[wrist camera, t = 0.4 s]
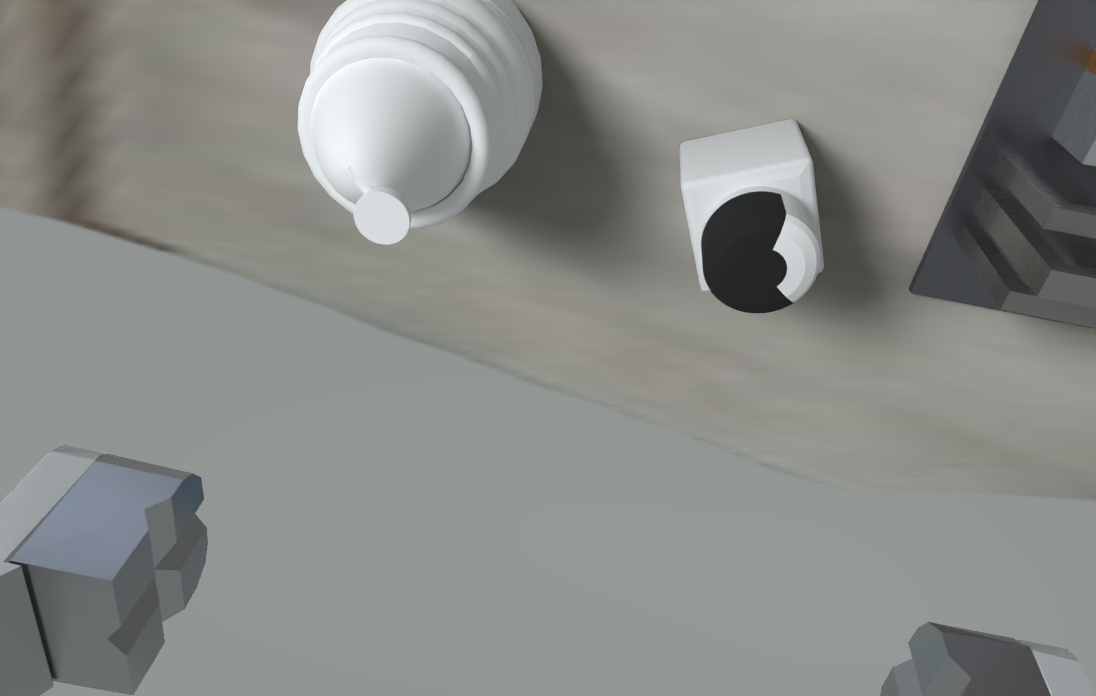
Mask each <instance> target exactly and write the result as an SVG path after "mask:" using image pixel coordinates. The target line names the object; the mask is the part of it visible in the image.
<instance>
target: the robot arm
mask: <svg viewBox="0 0 1096 696" xmlns="http://www.w3.org/2000/svg"><path fill="white" fill-rule="evenodd" d="M203 500H204V495H203V488H202V481H201V477H199V476H197V475H195V474H192V473H189V472H184V471H180V470H175V469H171V468H167V467H162V466H158V465H153V464H149V463H145V462H140V461H136V460H132V459H128V458H123V457H119V456H115V455H110V454H102V453H98V452H94V451H89V450H85V449H81V448H76V447H72V446H67V445H63V446H60V447H59V448H56V449H54V450H52V451H50V452H48V453H47V454H46V455H45V456H44V457H43V459H42V460H41V461H40V462H39V463H38V464H37V465H36V466H35V467H34V468H33V469H32V470H31V471H30V472H29V473H28V475H27V476H25V478H24V479H23V480H22V481H21V482H20V483H19V484H18V485H17V486H16V487H15V488H14V489H13V490H12V491H11V492H10V493H9V495H8V496H7V497H6V498H5V499H4V500H3V501H2V502H1V503H0V696H40V695H41V694H43V693H44V692H46V691H47V690H48V689H50V688H51V687H53V681H56V682H61V683H68V684H73V685H78V686H84V687H90V688H95V689H102V690H107V691H112V692H118V693H124V694H129V695H134V693H135V691H136V690H137V688H138V686H139V685H140V683H141V681H142V680H143V678H144V676H145V675H146V673H147V671H148V670H149V668H150V666H151V665H152V663H153V661H154V660H155V658H156V656H157V655H158V653H159V651H160V650H161V648H162V646H163V645H164V643H165V641H164V633H163V626H162V622H163V621H165V620H166V619H168V618H170V617H172V616H173V615H175V614H177V613H179V612H180V611H182V610H184V609H185V607H186V605H187V604H188V602H189V600H190V598H191V597H192V594H193V593H194V591H195V590H196V588H197V585H198V582H199V579H200V576H201V573H202V571H203V568H204V565H205V561H206V553H207V545H208V541H207V540H208V539H207V528H206V526H205V525H204V524H203V523H202V522H201V520H200V519H199V518H198V517H197V516H196V515H195V513H196V511H197V509H198V508H199V506H200V505H201V503H202V502H203ZM909 646H910V650H911V654H912V657H913V658H912V659H910V660H908V661H906V662H904V663H901V664H899V665H897V666H895V667H893V668H892V670H891V671H890V673H889V675H888V677H887V679H886V680H885V682H884V684H883V686H882V690H881V695H880V696H1095V694H1094V692H1093V690H1092V688H1091V686H1090V684H1089V681H1088V679H1087V677H1086V675H1085V673H1084V671H1083V669H1082V667H1081V665H1080V663H1079V661H1078V659H1077V658H1076V657H1075V656H1074V655H1073V654H1072V653H1071V652H1070V651H1069V650H1068V649H1064V648H1059V647H1053V646H1048V645H1043V644H1038V643H1033V642H1028V641H1023V640H1015V639H1013V638H1009V637H1004V636H999V635H993V634H988V633H983V632H978V631H973V630H967V629H962V628H957V627H951V626H947V625H941V624H936V623H930V622H928V623H926V624H924V625H922V626H921V627H919V628H918V629H917V630H916V632H915V633H914V635H913V636H912V638H911V639H910V641H909Z"/></svg>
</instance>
